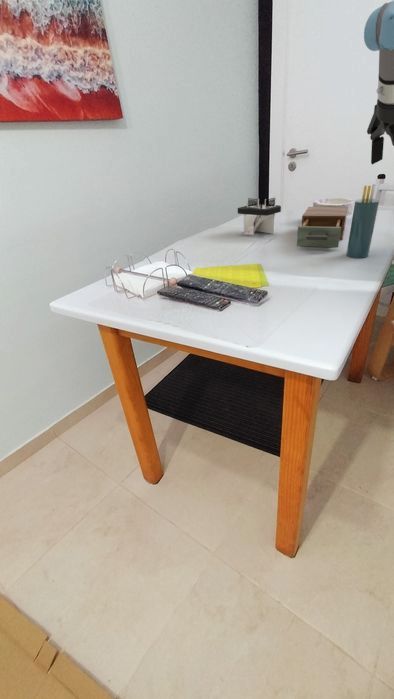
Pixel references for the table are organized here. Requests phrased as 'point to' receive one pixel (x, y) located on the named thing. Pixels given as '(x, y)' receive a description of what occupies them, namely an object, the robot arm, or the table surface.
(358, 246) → the straw cup
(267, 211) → the black-topped pedestal
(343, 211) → the cabinet
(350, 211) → the paper bowls
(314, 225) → the drawer
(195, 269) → the table surface
